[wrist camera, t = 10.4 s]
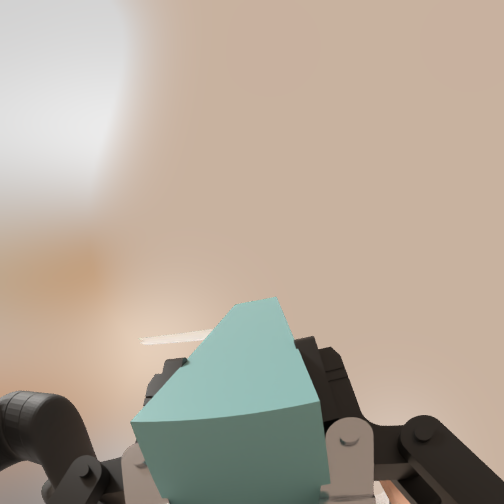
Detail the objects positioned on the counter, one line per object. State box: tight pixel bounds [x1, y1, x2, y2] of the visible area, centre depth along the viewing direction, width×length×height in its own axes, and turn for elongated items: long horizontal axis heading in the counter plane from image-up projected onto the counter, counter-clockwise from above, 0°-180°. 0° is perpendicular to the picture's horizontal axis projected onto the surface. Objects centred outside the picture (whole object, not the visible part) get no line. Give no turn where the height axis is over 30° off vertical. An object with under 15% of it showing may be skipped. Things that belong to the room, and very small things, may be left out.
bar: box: [131, 297, 331, 504], centre depth 17 cm, size 4×24×4 cm, turn 178°
